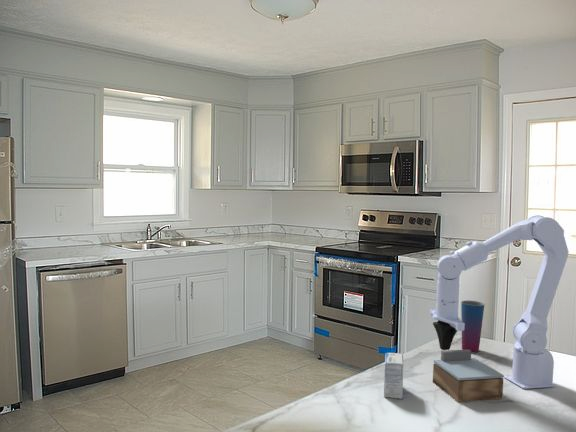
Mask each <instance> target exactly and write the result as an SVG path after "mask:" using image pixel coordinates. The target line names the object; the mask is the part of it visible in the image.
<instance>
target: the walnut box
mask: <svg viewBox="0 0 576 432" xmlns="http://www.w3.org/2000/svg"><path fill="white" fill-rule="evenodd" d="M432 365H433V370H432V383H433V384H434V383H435V384H436V385H435V384H434V385H435V386H436V387H438V388H439V389H441V390H442V391H443V390H444V391H445V392H444V391H443V392H444V393H445V394H447V395H448V396H449V395H450V396H449V397H451V398H452V399H453V400H454V399H455V400H454V401H455V402H457V403H466V401H467V402H477V401H478V402H480V401H481V402H482V401H493V400H503V394H504V378H490V379H475V380H460V381H459V380H458V379H456V378H455V377H453V376H452V375H451V374H449V373H448V372H446V371H445V370H444V369H442V368H441V367H439V366H438V365H437V364H435V363H433V364H432Z"/></svg>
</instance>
